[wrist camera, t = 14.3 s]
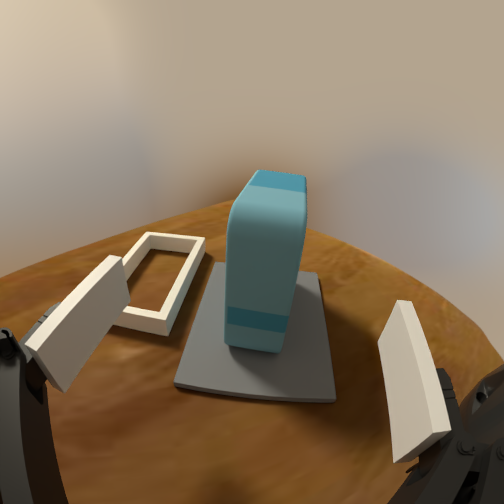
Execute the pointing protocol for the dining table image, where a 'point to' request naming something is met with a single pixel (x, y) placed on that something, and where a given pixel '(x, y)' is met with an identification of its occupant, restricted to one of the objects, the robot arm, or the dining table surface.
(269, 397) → the mat
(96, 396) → the dining table surface
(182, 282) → the cradle
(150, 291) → the dining table surface
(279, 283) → the blue rounded block
